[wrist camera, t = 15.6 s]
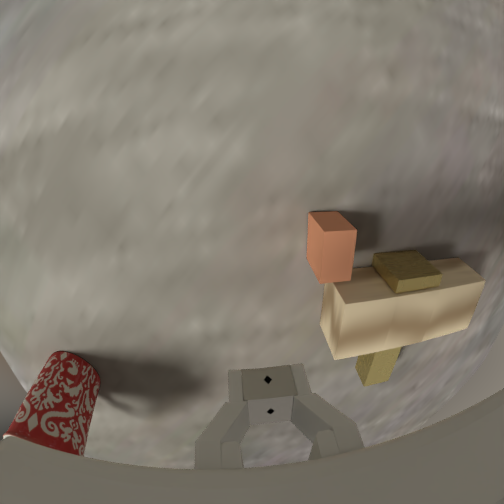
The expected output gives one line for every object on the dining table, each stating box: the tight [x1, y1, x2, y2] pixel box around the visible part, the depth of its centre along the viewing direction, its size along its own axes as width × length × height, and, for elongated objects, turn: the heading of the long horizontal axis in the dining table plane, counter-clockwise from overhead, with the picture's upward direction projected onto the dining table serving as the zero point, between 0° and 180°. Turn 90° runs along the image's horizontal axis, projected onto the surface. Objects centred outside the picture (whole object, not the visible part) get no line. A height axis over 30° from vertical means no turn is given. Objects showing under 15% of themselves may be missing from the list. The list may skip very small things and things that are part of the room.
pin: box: [355, 250, 443, 386], centre depth 26 cm, size 15×5×5 cm, turn 2°
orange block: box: [307, 211, 357, 284], centre depth 22 cm, size 4×2×4 cm, turn 2°
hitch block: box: [320, 257, 486, 360], centre depth 25 cm, size 6×16×5 cm, turn 92°
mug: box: [3, 351, 100, 457], centre depth 24 cm, size 13×9×14 cm
